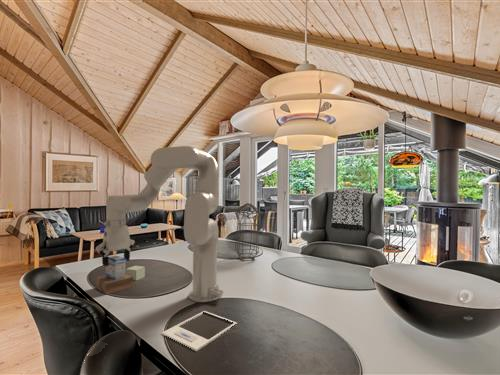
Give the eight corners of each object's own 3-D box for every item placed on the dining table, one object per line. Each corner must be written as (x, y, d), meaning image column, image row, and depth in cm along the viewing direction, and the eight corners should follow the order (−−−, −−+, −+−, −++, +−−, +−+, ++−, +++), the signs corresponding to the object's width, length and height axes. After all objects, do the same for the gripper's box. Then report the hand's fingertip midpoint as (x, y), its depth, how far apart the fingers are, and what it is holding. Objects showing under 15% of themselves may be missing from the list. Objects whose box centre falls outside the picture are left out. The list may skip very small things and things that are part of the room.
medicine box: (105, 276, 118) (105, 256, 118) (115, 274, 122) (115, 254, 122) (115, 280, 114) (115, 259, 114) (125, 277, 118) (125, 257, 118)
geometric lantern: (231, 256, 174) (233, 202, 175) (254, 255, 179) (256, 202, 179) (237, 262, 159) (239, 203, 160) (262, 261, 163) (264, 203, 164)
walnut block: (132, 288, 118) (133, 277, 118) (106, 295, 110) (106, 283, 110) (121, 282, 125) (122, 271, 125) (96, 288, 117) (96, 277, 117)
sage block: (144, 276, 133) (145, 266, 133) (136, 280, 127) (136, 270, 127) (134, 275, 135) (135, 265, 135) (125, 279, 129) (126, 268, 129)
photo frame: (161, 331, 81) (204, 310, 96) (161, 335, 81) (204, 313, 96) (196, 348, 72) (237, 322, 87) (196, 352, 72) (237, 325, 87)
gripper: (101, 226, 109) (101, 269, 108) (138, 221, 123) (139, 259, 123) (91, 225, 112) (91, 266, 112) (128, 221, 127) (129, 257, 127)
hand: (116, 262), depth 118 cm, fingers open, 9 cm apart
